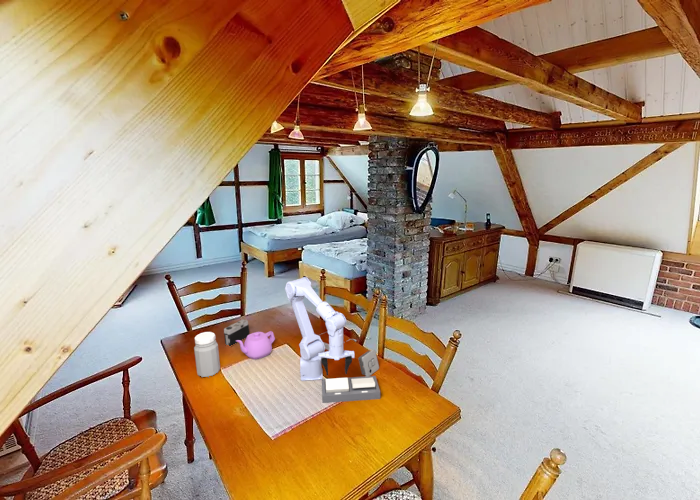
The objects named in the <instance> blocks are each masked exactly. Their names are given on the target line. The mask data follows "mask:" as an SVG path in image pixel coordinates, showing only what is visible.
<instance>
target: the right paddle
mask: <svg viewBox="0 0 700 500" xmlns="http://www.w3.org/2000/svg"><path fill="white" fill-rule="evenodd" d="M351 383H352V387H353V388H365V387H375V382H374V379H373V378H358V379H351Z"/></svg>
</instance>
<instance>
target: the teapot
mask: <svg viewBox="0 0 700 500" xmlns="http://www.w3.org/2000/svg"><path fill="white" fill-rule="evenodd" d="M244 340H245V341H244V343H243V340H236V341H237V342H238V343H239V346H240V347H239V348H240V351H241V352H242V353H244V354H245V356H247V357H248V358H249V359H251V360H259V359H262V358H265V357H267V356H269V355H270V354H271V352H272V351H273V347H272V344H273V343H274V342H275V340H276V338H275V334H274V332H273V331H272V330H270V331H268V332H263V331H256V332H252V333H249V335H248V336H247V337H246V338H245V339H244Z"/></svg>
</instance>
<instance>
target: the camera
mask: <svg viewBox="0 0 700 500" xmlns="http://www.w3.org/2000/svg"><path fill="white" fill-rule="evenodd" d="M249 334H250V327H249V320H247V319H244V318H242V319H241V320H238V321H237V322H235V323H232V324H230V325H229V326H227V327H224V328H223V335H224V345H225V344H226V345H229V346H231V345H233V344H235V343H236V344H238V343H237V341H236V340H241V341H243V340H245V339H246V337H247V336H248V335H249ZM244 338H245V339H244ZM242 339H243V340H242ZM236 344H235V345H236ZM226 345H225V346H226ZM233 346H234V345H233ZM231 347H232V346H231Z"/></svg>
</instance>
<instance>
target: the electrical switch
mask: <svg viewBox="0 0 700 500" xmlns="http://www.w3.org/2000/svg"><path fill="white" fill-rule="evenodd" d="M357 359H358V363H359V368H360V372H361V375H364V376H365V377H366V376H373V374H374V373H375V372H377V371H378V370H379V369H380V365H379V360H378V356H377V351H376V350H375V349H372V350H368V351H366V352H365V353H363V354H362V355H360V356H359V357H358V358H357Z"/></svg>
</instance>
